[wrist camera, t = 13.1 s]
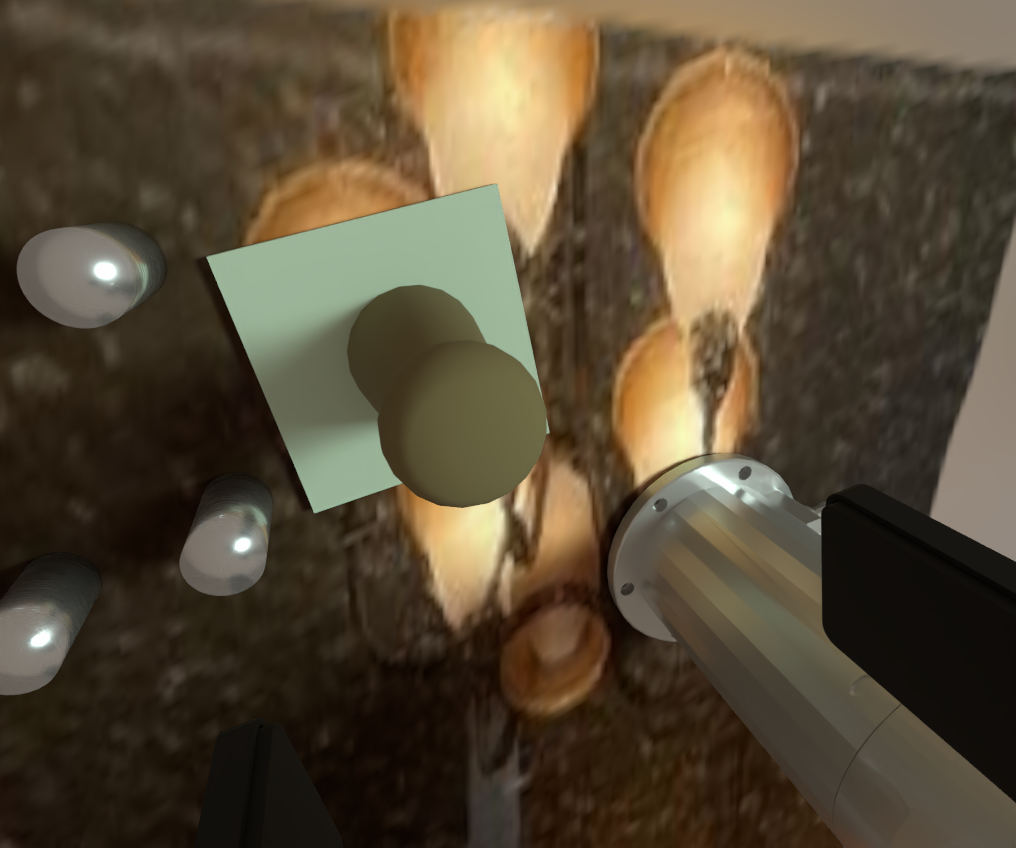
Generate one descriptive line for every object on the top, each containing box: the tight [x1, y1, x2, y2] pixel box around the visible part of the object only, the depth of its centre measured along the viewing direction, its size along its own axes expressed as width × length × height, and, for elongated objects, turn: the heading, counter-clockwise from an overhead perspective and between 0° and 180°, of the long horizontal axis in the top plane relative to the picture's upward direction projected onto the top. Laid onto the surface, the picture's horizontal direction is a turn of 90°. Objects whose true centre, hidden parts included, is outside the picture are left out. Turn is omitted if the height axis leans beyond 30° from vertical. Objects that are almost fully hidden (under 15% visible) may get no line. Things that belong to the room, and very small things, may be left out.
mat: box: [206, 184, 549, 513], centre depth 27 cm, size 12×12×1 cm
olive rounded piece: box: [347, 285, 547, 508], centre depth 22 cm, size 6×6×11 cm
